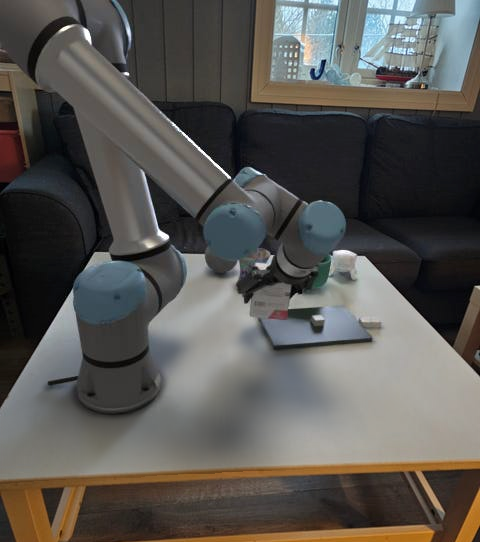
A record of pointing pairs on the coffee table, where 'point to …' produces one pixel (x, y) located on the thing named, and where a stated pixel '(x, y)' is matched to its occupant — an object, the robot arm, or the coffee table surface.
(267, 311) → the ink box
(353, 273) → the white figurine
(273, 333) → the slate board
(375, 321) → the chalk flake
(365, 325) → the chalk flake
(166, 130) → the robot arm
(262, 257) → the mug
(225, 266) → the decorative ball
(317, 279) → the mug
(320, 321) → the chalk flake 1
